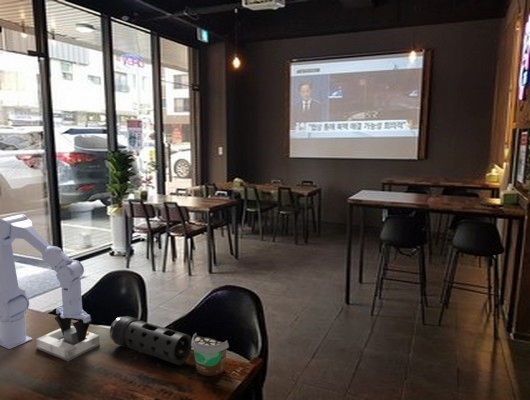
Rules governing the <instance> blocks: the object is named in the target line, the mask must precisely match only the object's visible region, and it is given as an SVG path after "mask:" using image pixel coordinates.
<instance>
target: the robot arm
mask: <svg viewBox="0 0 530 400" xmlns="http://www.w3.org/2000/svg"><path fill="white" fill-rule="evenodd" d="M16 239H20V240H24V241H26V242H27V243H28V244H29V245H30V246H32V247H33V248H35V250H37V251H38V252H39V253H40V254H41V259H42V260H43V262H45V263H46V264H47V265H48V266H49V267H50V268H51V269H52V270H54V272H55V273H56V274H55V276H56V278H57V281H58V282H59V286H60V287H61V300H62V305H60V306H58V307H56V308H55V312H56V313H55V314H57V315H56V316H55V317H54V320H55V321H56V322H57V324H58V326H59V327H60V328H61V331H62V334H63V336H64V331H66V330H68V329H70V328H71V326H73V327H75V329H76V332H77V338H78V341H79V342H82V341H84V340H85V338H86V334H87V331H88V329H89V327H90V325H91V323H92V321H93V319H92V318H91V314H88V313H87V312H86V311H85V310H84V309H83V300H82V284H81V283H82V282H81V278H82V276H83V274H84V272H85V268H84V265H83V264H82V263H81V261H79V260H76V259H73V258H71V257H70V256H68V255H67V254H66V253H64V252H63V249H62V248H61V247H58V245H57V246H55V245H53V246H52V245H51V244H50V243H48V241H47V240H46V239H45V238H44V237H43V236H42V235H41V234H40V232H38V231H37V229H36V228H35V227H34V225H33V221H32V220H31V219H30V218H29V217H28V216H27V215H25V214H23V213H19V214H18V213H17V214H15V215H11V216H7V217H2V218H1V217H0V346H2V347H4V348H6V349H8V350H10V349H13V348H15V347H17V346H21V345H22V344H25V343H26V342H27V343H28V342H30V341H32V340H33V338H32V337H31V336H28V335H27V329H26V316H25V314H27V310H28V309H29V307H30V300H29V298H28V296H27V294H26V290H25V289H22V288H20V287H19V283H18V282H19V281H18V275H17V270H16V263H15V257H14V251H13V246H12V245H13V244H12V243H14V241H15V240H16ZM72 319H76V320H77V321H75V322H73V323H72ZM60 328H59V329H60Z"/></svg>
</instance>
